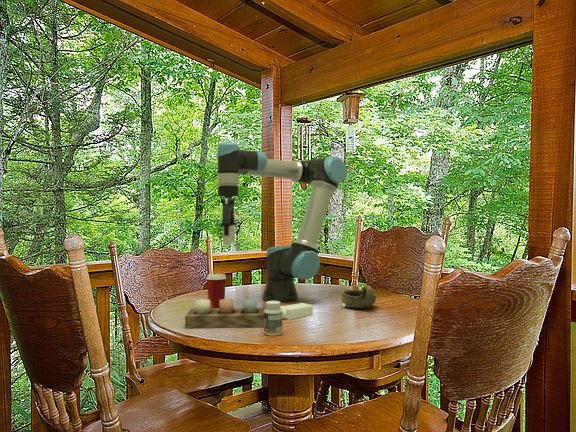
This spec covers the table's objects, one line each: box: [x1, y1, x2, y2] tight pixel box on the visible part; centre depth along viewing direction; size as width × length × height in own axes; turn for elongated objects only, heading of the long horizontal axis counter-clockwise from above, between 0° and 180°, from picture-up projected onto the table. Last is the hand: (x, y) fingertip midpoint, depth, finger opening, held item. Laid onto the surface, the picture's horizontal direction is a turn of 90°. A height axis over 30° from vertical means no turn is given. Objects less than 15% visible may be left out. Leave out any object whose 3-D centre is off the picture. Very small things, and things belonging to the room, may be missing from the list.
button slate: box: [242, 298, 258, 313], centre depth 157 cm, size 5×5×4 cm
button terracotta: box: [219, 298, 235, 314], centre depth 157 cm, size 5×5×4 cm
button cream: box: [195, 298, 210, 314], centre depth 156 cm, size 5×5×4 cm
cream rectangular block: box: [280, 302, 314, 321], centre depth 166 cm, size 6×13×4 cm, turn 133°
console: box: [184, 307, 266, 329], centre depth 157 cm, size 26×12×4 cm, turn 92°
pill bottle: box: [263, 301, 283, 337], centre depth 143 cm, size 6×6×10 cm
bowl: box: [341, 285, 377, 309], centre depth 179 cm, size 14×18×10 cm
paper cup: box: [205, 273, 227, 308], centre depth 176 cm, size 8×8×14 cm
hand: (228, 243), depth 169 cm, fingers open, 12 cm apart
